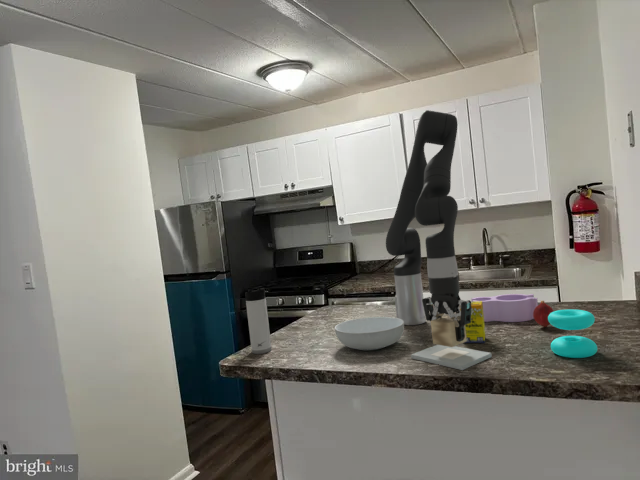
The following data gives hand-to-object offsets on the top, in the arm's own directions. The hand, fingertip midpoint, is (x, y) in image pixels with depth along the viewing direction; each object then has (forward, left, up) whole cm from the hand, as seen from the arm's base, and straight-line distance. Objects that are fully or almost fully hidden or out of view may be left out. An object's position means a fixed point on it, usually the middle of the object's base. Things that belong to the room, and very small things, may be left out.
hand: (449, 338), depth 117 cm
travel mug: (-52, -27, -5) cm, 59 cm away
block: (0, 0, -1) cm, 1 cm away
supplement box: (-4, +16, -5) cm, 17 cm away
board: (0, 0, -5) cm, 5 cm away
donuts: (+22, +19, -5) cm, 29 cm away
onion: (+5, +38, -5) cm, 38 cm away
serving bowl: (-26, -4, -5) cm, 27 cm away
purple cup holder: (-12, +43, -5) cm, 45 cm away
